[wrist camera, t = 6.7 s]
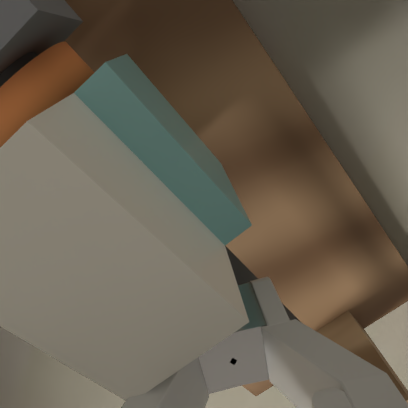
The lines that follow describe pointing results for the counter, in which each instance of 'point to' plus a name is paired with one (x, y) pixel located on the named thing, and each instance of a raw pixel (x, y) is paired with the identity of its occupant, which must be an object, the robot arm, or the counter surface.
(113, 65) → the sleeve
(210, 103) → the rod slider board
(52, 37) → the rail
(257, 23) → the counter surface
